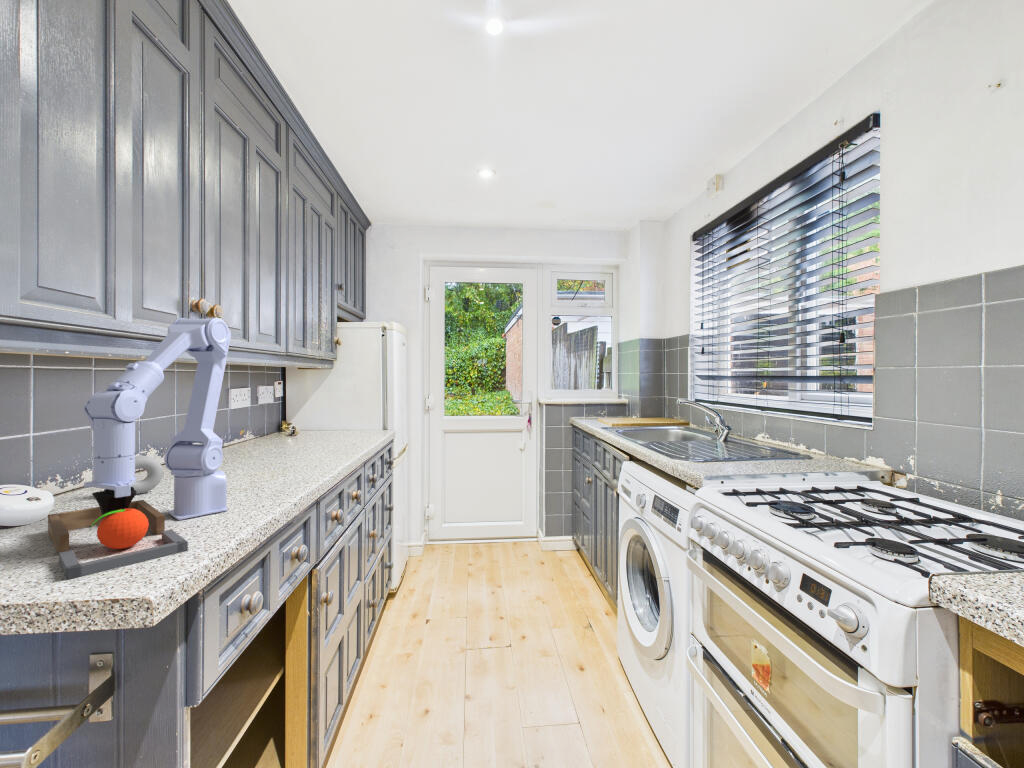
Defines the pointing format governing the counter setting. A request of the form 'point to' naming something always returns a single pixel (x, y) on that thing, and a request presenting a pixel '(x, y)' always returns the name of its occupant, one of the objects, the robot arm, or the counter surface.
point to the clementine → (122, 528)
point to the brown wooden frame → (86, 517)
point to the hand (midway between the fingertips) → (114, 529)
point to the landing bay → (122, 557)
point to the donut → (148, 473)
